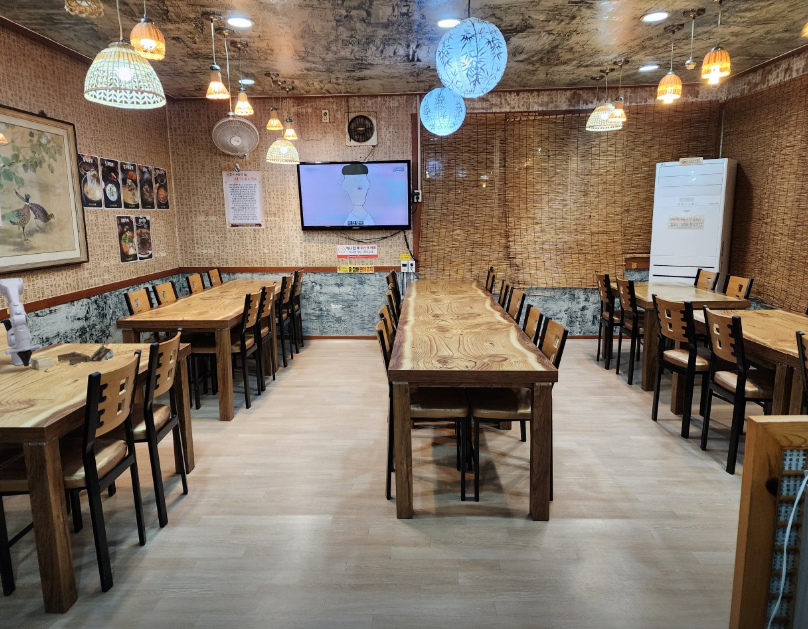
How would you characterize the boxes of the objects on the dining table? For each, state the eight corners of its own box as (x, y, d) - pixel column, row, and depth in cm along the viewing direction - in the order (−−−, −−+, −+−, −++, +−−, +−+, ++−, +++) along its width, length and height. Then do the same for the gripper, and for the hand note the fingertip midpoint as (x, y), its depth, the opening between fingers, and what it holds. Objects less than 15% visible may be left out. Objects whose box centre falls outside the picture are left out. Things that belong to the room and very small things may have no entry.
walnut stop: (57, 360, 272) (56, 354, 271) (74, 356, 278) (74, 351, 278) (72, 365, 261) (71, 359, 261) (90, 361, 268) (89, 355, 268)
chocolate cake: (100, 363, 266) (113, 344, 272) (87, 359, 266) (101, 340, 273) (107, 371, 274) (119, 352, 280) (94, 367, 274) (107, 348, 281)
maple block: (32, 368, 258) (30, 358, 257) (45, 365, 263) (44, 355, 262) (39, 370, 254) (38, 360, 253) (53, 367, 259) (51, 357, 258)
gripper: (7, 342, 242) (11, 370, 245) (42, 336, 254) (46, 363, 256) (1, 341, 246) (6, 368, 249) (36, 335, 258) (40, 361, 260)
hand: (26, 366), depth 253 cm, fingers closed
